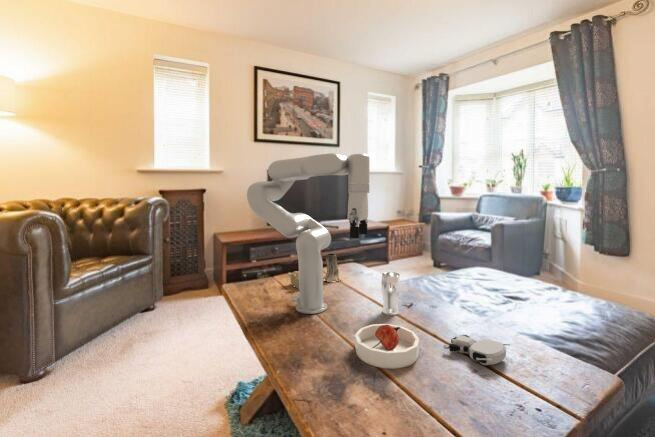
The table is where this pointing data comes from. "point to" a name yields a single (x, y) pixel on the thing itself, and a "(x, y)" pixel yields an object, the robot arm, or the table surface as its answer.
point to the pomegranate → (387, 336)
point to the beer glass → (390, 292)
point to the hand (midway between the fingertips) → (358, 235)
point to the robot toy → (479, 349)
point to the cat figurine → (294, 278)
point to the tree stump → (331, 268)
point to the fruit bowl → (379, 355)
